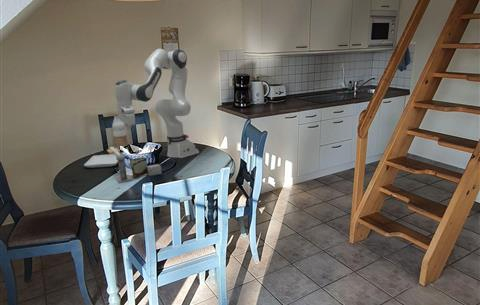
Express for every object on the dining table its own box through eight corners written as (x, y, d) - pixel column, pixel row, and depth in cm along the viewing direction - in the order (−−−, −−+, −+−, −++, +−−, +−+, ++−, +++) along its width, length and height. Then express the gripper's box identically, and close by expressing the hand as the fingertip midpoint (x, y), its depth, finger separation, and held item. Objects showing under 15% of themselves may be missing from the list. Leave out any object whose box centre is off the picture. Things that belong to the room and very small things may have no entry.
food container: (141, 171, 232) (139, 156, 229) (148, 172, 229) (146, 157, 226) (126, 177, 222) (124, 162, 219) (134, 179, 219) (131, 163, 216)
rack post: (129, 176, 224) (126, 156, 221) (132, 180, 218) (129, 159, 214) (115, 179, 221) (112, 159, 217) (118, 183, 214) (115, 162, 210)
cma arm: (127, 159, 215) (126, 155, 214) (116, 161, 212) (116, 157, 211) (116, 149, 235) (116, 146, 234) (106, 151, 232) (106, 147, 231)
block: (159, 171, 231) (158, 163, 229) (161, 173, 227) (160, 165, 225) (146, 173, 227) (145, 166, 226) (148, 176, 223) (147, 168, 222)
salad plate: (93, 159, 260) (93, 155, 258) (124, 157, 261) (123, 153, 260) (83, 170, 239) (82, 165, 238) (117, 168, 241) (116, 163, 240)
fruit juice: (115, 153, 270) (110, 115, 262) (115, 149, 279) (109, 113, 270) (129, 151, 273) (124, 114, 265) (128, 148, 282) (123, 112, 273)
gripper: (115, 106, 232) (118, 127, 236) (125, 111, 215) (128, 134, 220) (125, 104, 235) (128, 125, 239) (135, 109, 218) (138, 132, 223)
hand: (128, 129), depth 229 cm, fingers closed
